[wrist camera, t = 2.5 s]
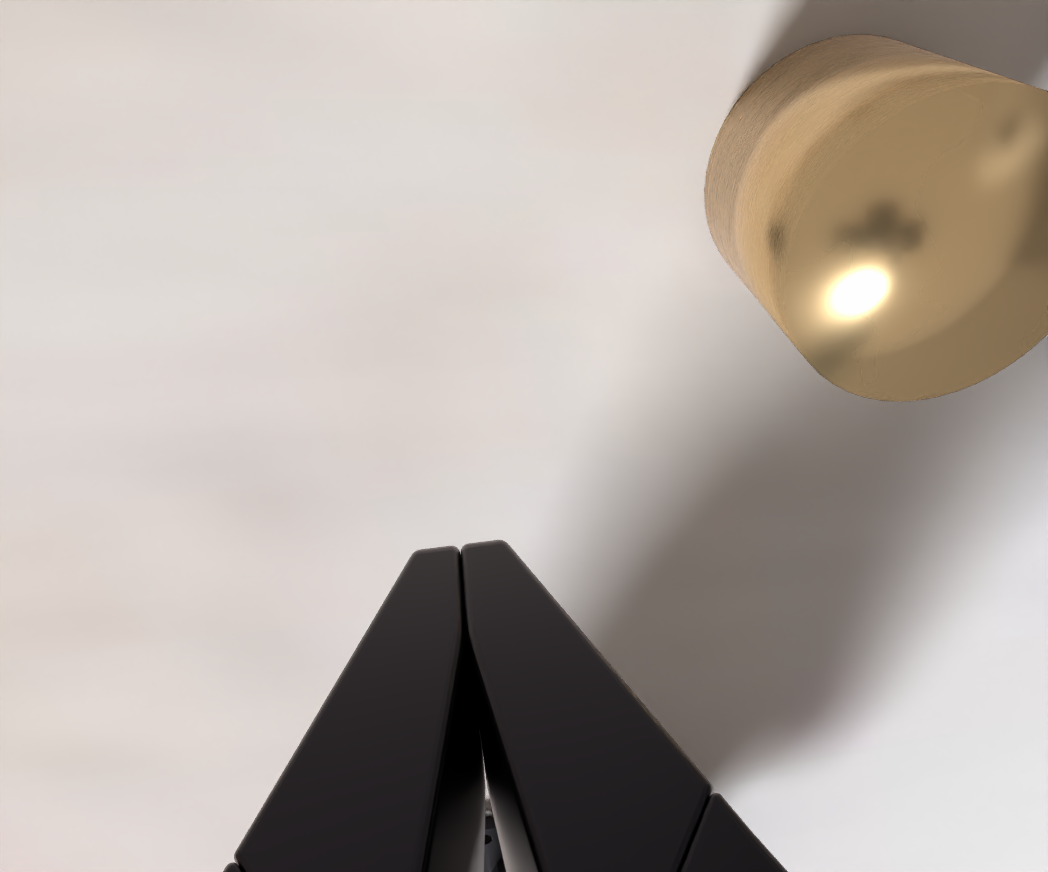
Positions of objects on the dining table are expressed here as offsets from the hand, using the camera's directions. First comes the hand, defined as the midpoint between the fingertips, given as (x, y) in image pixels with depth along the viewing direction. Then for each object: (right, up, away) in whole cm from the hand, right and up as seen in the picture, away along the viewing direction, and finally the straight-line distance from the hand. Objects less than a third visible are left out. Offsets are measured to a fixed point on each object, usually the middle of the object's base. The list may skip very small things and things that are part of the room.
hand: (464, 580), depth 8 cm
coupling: (+7, +7, +9) cm, 13 cm away
